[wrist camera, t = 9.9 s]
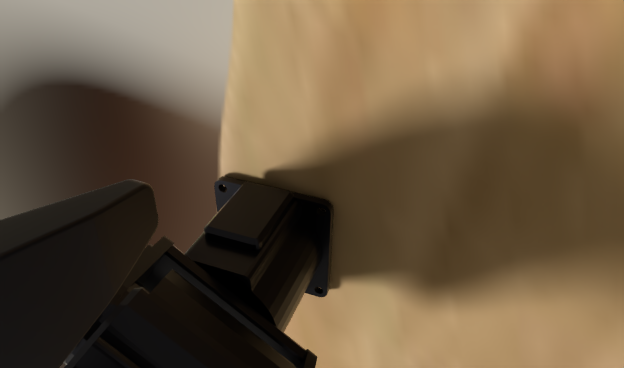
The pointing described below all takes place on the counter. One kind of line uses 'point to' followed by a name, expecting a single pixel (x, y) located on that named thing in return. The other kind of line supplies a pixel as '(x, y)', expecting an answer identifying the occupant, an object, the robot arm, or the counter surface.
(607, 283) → the counter surface
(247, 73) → the counter surface
